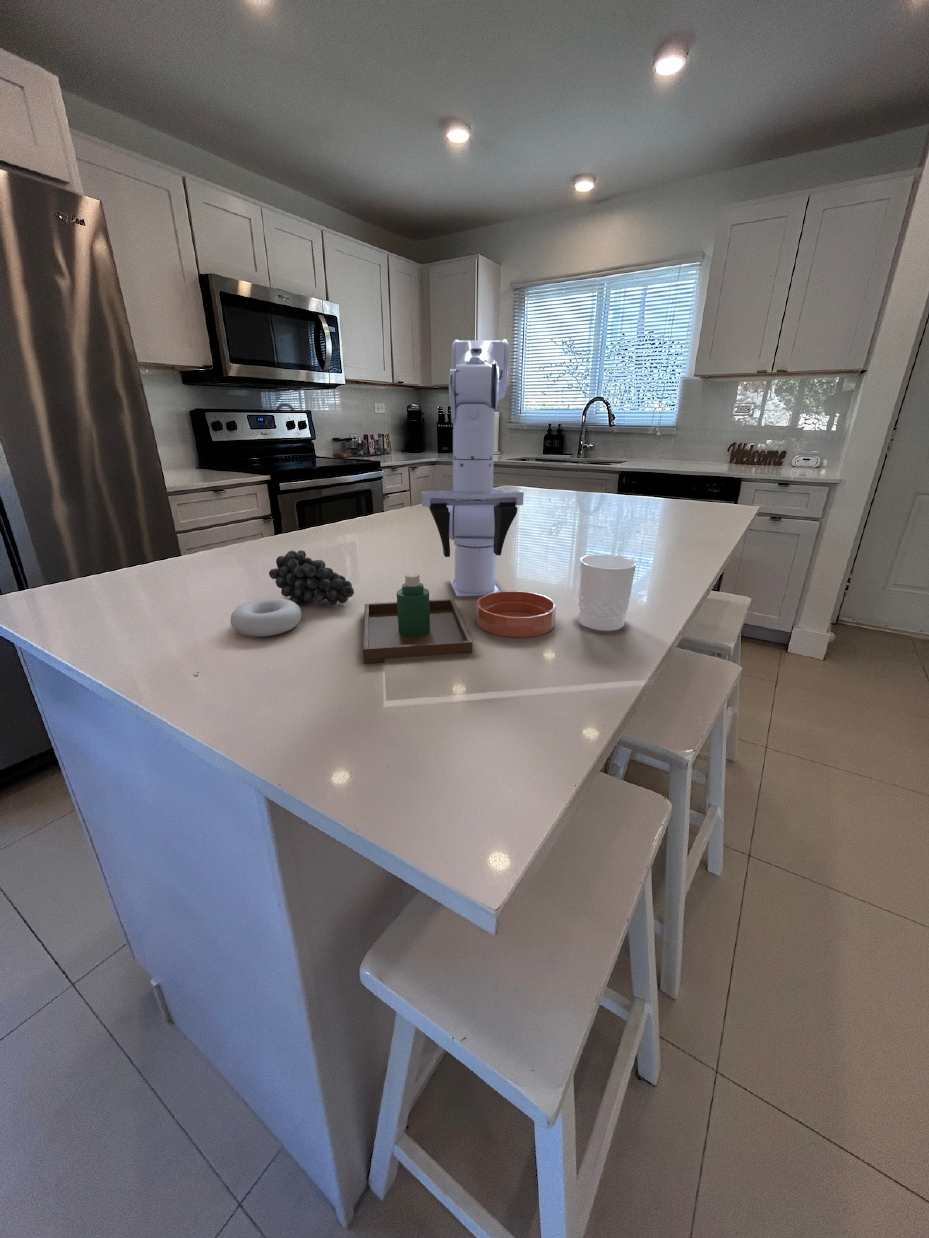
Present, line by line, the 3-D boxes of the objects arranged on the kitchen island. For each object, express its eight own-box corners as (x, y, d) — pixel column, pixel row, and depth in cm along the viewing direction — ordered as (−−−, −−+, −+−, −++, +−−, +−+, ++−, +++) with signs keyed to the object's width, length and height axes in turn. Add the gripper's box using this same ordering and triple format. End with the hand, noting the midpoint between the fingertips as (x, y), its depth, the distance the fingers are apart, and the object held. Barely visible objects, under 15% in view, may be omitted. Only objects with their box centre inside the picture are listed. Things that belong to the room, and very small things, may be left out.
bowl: (470, 613, 82) (470, 592, 81) (540, 609, 84) (541, 589, 83) (485, 643, 71) (485, 620, 70) (565, 637, 73) (567, 615, 72)
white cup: (629, 637, 74) (639, 570, 70) (574, 632, 75) (580, 567, 71) (625, 617, 81) (633, 556, 77) (574, 613, 82) (580, 553, 78)
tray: (365, 615, 81) (364, 603, 80) (453, 610, 83) (453, 598, 83) (364, 663, 65) (362, 649, 65) (472, 655, 68) (472, 642, 67)
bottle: (397, 625, 76) (395, 570, 73) (428, 623, 77) (427, 569, 73) (399, 638, 72) (396, 580, 68) (431, 636, 72) (430, 578, 69)
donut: (269, 646, 70) (316, 620, 79) (265, 623, 69) (314, 599, 77) (217, 634, 74) (268, 610, 83) (212, 612, 73) (264, 590, 81)
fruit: (358, 551, 82) (286, 540, 88) (329, 580, 77) (253, 566, 82) (370, 593, 88) (301, 580, 93) (344, 623, 82) (272, 607, 88)
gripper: (424, 460, 66) (426, 562, 71) (531, 460, 69) (526, 559, 73) (419, 458, 73) (421, 551, 77) (517, 458, 75) (514, 549, 80)
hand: (472, 554), depth 76 cm, fingers open, 7 cm apart
